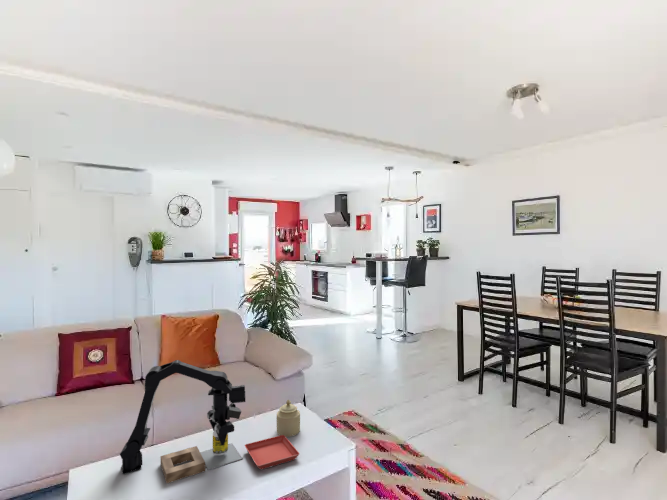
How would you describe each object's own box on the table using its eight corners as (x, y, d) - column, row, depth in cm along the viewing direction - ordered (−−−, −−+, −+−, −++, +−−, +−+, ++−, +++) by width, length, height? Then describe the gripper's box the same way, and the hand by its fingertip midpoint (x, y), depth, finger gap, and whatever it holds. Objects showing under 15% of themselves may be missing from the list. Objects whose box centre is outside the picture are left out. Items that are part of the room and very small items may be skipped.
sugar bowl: (269, 425, 184) (269, 395, 184) (290, 420, 190) (290, 390, 190) (282, 439, 172) (282, 406, 172) (304, 432, 178) (304, 400, 177)
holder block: (166, 483, 141) (166, 474, 141) (160, 464, 152) (160, 456, 152) (205, 471, 148) (205, 462, 148) (196, 454, 160) (196, 445, 160)
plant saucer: (283, 441, 171) (283, 433, 171) (300, 461, 155) (300, 453, 155) (244, 452, 162) (243, 444, 162) (257, 474, 146) (257, 466, 146)
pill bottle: (214, 457, 154) (214, 430, 154) (211, 450, 160) (211, 424, 159) (229, 453, 157) (229, 427, 157) (226, 446, 162) (226, 420, 162)
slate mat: (207, 470, 149) (207, 469, 149) (199, 453, 160) (199, 452, 160) (242, 459, 156) (242, 458, 156) (232, 443, 168) (232, 443, 168)
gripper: (246, 407, 154) (246, 445, 155) (232, 392, 170) (232, 426, 170) (219, 414, 148) (219, 454, 149) (206, 397, 164) (206, 433, 164)
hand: (220, 441), depth 158 cm, fingers closed on pill bottle, 6 cm apart
